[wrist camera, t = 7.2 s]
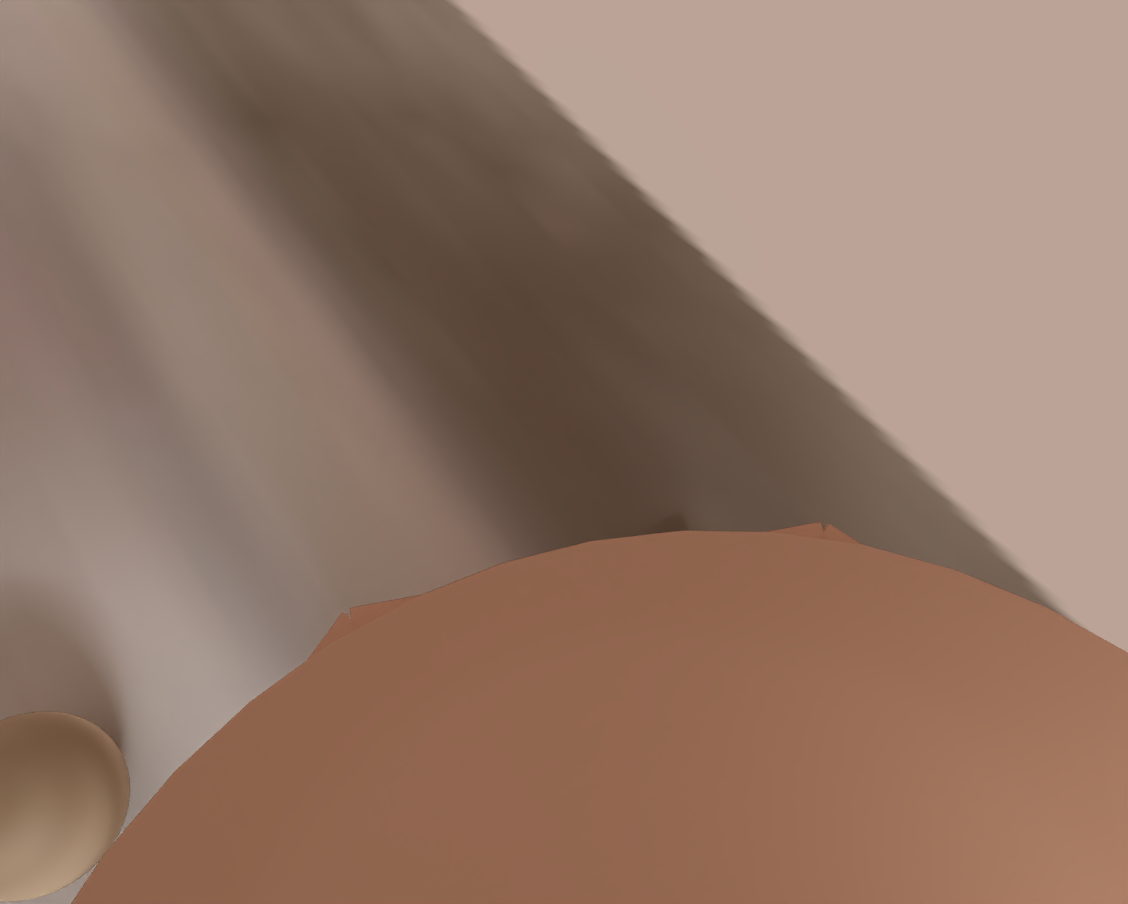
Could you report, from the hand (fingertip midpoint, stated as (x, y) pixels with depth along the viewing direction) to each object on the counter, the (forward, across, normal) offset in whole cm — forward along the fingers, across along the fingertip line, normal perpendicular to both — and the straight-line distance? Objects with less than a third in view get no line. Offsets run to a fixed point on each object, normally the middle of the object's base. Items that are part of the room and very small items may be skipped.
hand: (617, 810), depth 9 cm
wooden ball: (+7, +10, +5) cm, 13 cm away
